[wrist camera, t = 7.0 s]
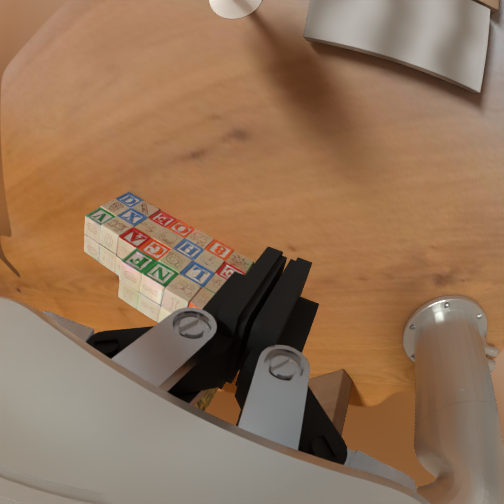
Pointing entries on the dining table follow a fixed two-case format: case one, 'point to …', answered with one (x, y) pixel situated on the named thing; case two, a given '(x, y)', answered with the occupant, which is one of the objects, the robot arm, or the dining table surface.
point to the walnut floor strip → (489, 4)
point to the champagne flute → (234, 7)
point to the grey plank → (409, 34)
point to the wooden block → (333, 395)
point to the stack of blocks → (158, 257)
